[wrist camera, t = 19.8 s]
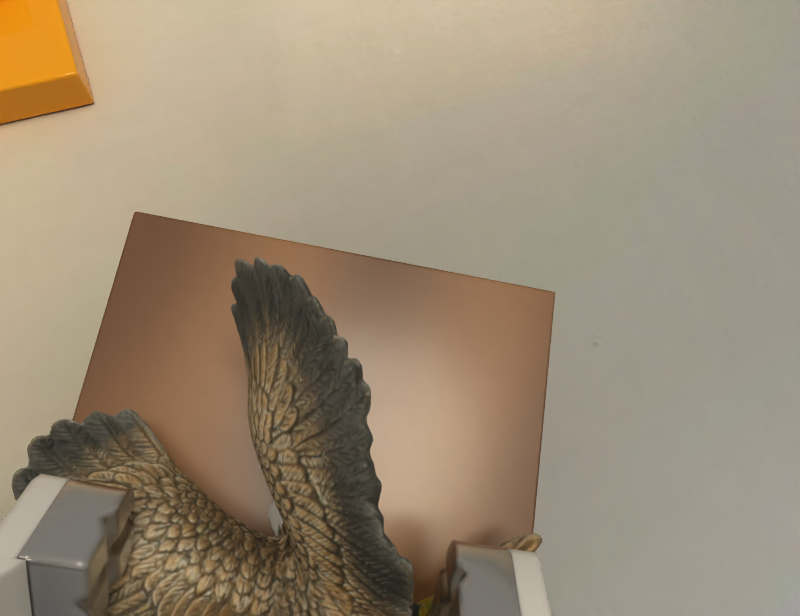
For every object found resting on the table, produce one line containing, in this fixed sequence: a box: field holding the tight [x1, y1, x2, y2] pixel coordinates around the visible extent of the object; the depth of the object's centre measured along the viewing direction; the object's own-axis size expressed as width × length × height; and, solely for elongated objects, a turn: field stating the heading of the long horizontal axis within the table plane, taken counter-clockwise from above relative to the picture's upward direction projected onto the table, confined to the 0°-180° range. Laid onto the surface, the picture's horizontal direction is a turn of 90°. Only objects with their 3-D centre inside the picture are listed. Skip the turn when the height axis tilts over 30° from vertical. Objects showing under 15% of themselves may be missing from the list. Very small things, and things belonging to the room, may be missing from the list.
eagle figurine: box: [12, 257, 542, 616], centre depth 12 cm, size 8×7×9 cm
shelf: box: [73, 212, 555, 604], centre depth 21 cm, size 12×16×10 cm
